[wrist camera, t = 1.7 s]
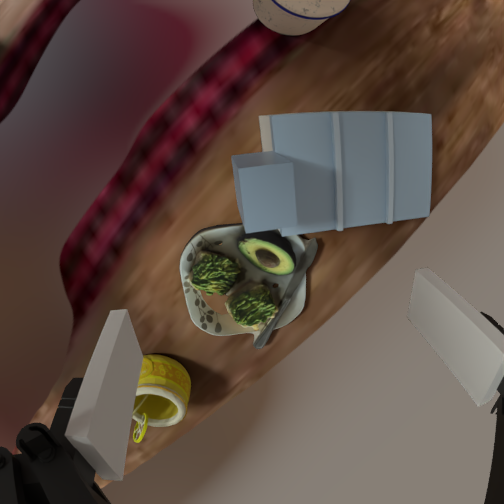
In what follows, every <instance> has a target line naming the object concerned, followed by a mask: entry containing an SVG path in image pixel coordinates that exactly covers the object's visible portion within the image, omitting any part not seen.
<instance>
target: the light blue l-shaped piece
mask: <svg viewBox="0 0 504 504" xmlns="http://www.w3.org/2000/svg"><path fill="white" fill-rule="evenodd" d="M269 119H270V128H271V138H272V148H273V151H267V152H258V153H250V154H242V155H234V156H231V157H232V165H233V173H234V181H235V189H236V197H237V205H238V209H239V212H240V215H241V219H242V222H243V225H244V229H245V232H246V233H253V232H260V231H267V230H274V229H280V234H281V235H282V237H284V236H291V235H298V234H305V233H312V232H319V231H327V230H334V229H336V230H337V231H343V228H348V227H355V226H363V225H370V224H377V223H387V224H392V223H393V221H400V220H407V219H415V218H422V217H429V215H430V200H431V180H432V118H431V114H425V113H407V112H368V111H355V112H316V113H297V114H282V115H270V116H269Z"/></svg>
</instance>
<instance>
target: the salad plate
mask: <svg viewBox="0 0 504 504" xmlns="http://www.w3.org/2000/svg"><path fill="white" fill-rule="evenodd" d="M221 243H222V245H219V244H221ZM317 248H318V244H317V242H316V238H313V239H310V240H305V239H303V238H302V237H300V236H299V235H291V236H284V237H282V235H281V234H280V232H279V230H278V229H274V230H267V231H260V232H253V233H246V232H245V229H244V225H243V223H237V224H224V225H216V226H212V227H208V228H204V229H201V230H199V231H198V232H197V233H196V234H195V235H194V236H193V237H192V238H191V239H190V240H189V242H188V243H187V244H186V246H185V248H184V250H183V252H182V254H181V258H180V266H179V267H180V276H181V280H182V284H183V289H184V294H185V298H186V304H187V308H188V310H189V313H190V317H191V319H192V321H193V322H194V324H195V325H196V326H198V327H199V328H200V329H202V330H204V331H206V332H207V333H210V334H212V335H217V336H226V335H234V334H241V333H252V334H254V342H253V346H254V347H255V348H256V349H261V348H263V347H264V346H265V344H266V342H267V341H268V339H269V337H270V335H271V333H272V331H273V330H274V329H277V328H280V327H283V326H285V325H287V324H288V323H290V322H291V321H292V320H293V319H294V318H296V317H297V316H298V314H299V313H300V312H301V311H302V309H303V307H304V302H305V297H306V270H307V268H308V267H309V266H311V263H312V261H313V259H314V257H315V254H316V251H317ZM275 283H277V284H279V286H278V287H277V288H273V287H272V286H273V284H275ZM200 290H204V291H206V292H207V295H209V296H211V295H213V293H214V292H217V293H218V295H224V294H225V295H227V296H228V297H229V298H228V300H227V301H226V302H225V306H226V308H227V311H228V312H229V314H225V315H220V314H219V313H217V312H215V311H214V310H212V309H211V308H210V307H209V306H208V305H207V304H206V302H205V301H204V299H203V298H202V295H201V292H200Z"/></svg>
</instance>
